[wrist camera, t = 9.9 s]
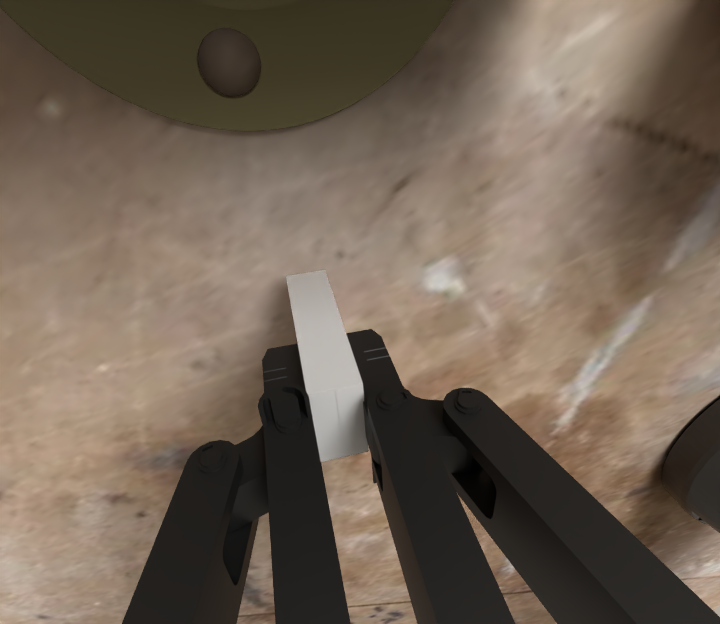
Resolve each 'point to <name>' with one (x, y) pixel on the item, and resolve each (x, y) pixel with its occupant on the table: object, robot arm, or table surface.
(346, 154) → the table surface
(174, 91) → the flange
